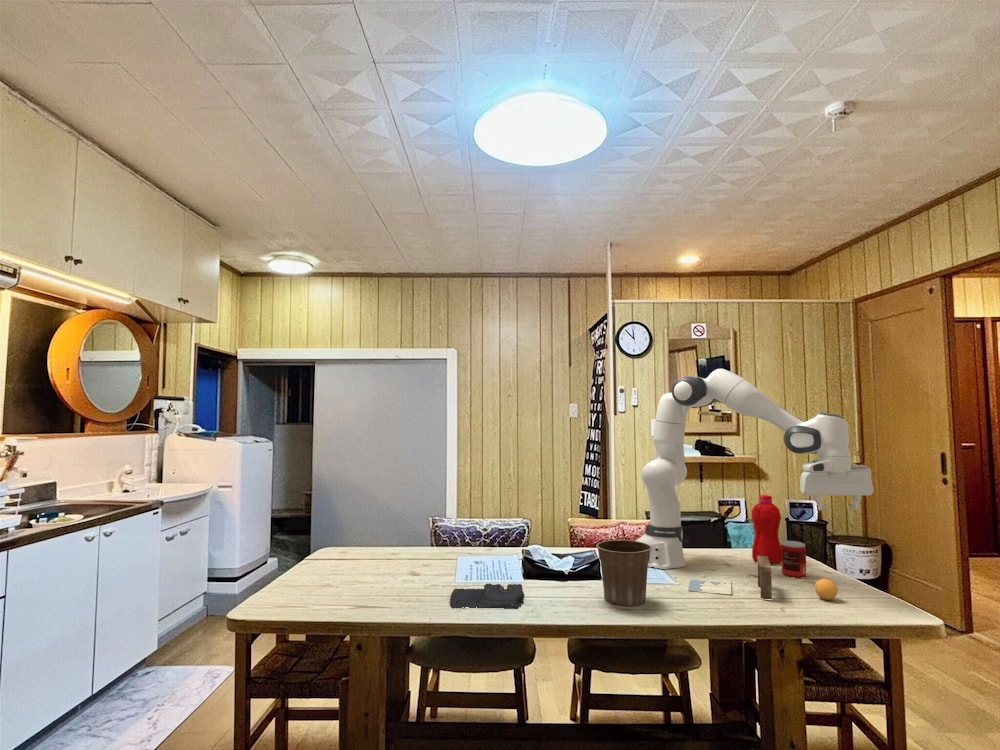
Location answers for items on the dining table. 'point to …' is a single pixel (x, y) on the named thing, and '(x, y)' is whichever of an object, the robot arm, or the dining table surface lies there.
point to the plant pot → (624, 571)
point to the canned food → (793, 559)
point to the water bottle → (766, 530)
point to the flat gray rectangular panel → (695, 585)
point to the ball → (826, 589)
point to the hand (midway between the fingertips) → (837, 510)
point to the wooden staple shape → (764, 577)
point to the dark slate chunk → (488, 597)
